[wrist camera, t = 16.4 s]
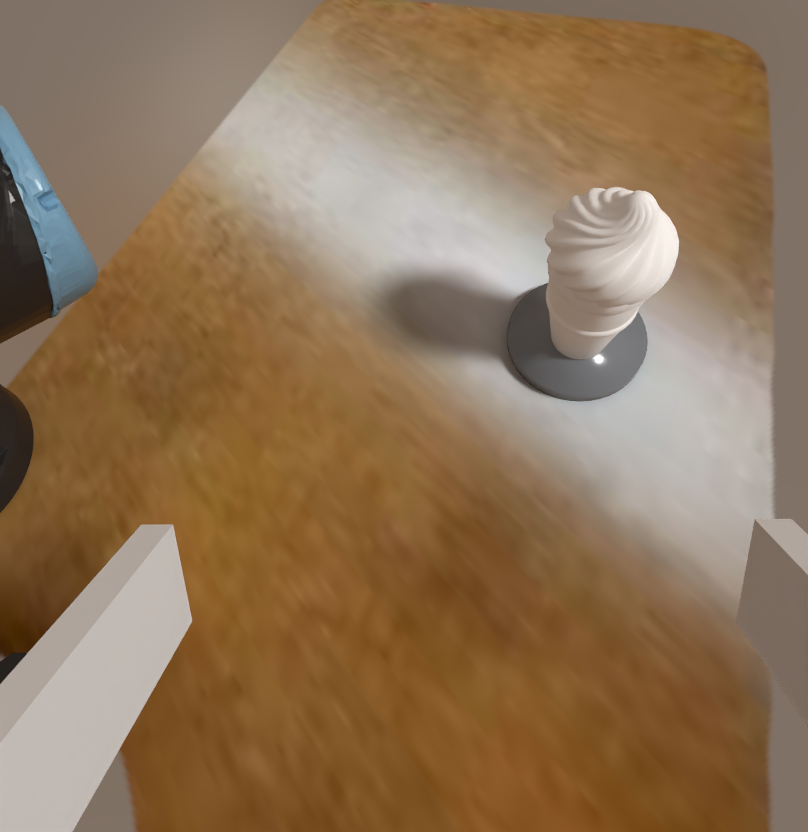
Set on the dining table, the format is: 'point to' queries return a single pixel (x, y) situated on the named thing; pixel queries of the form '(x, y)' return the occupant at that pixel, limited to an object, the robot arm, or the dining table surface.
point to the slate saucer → (566, 374)
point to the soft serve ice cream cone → (605, 266)
